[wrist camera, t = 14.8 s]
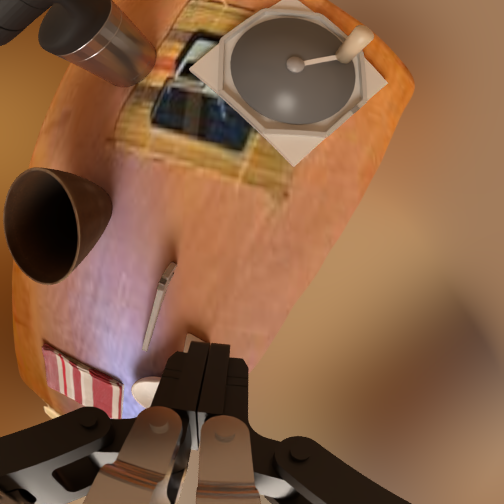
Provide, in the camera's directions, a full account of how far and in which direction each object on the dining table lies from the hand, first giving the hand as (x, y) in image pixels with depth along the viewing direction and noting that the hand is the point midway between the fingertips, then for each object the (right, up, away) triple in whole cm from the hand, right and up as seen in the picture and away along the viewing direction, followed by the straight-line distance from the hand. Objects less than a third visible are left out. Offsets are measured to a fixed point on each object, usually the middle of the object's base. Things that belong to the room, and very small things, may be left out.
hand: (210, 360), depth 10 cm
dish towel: (-41, -29, +44) cm, 66 cm away
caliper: (-15, -6, +37) cm, 40 cm away
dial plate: (+8, +32, +25) cm, 41 cm away
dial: (+8, +31, +23) cm, 40 cm away
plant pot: (-25, +12, +31) cm, 41 cm away
